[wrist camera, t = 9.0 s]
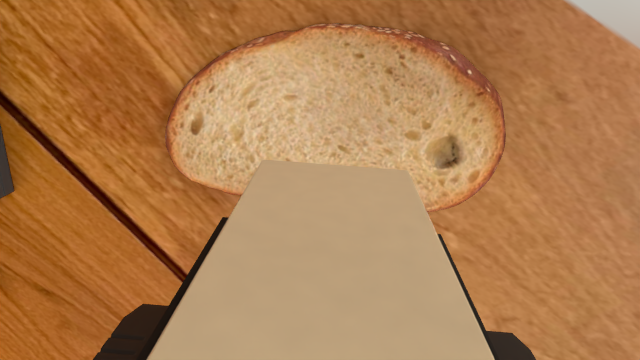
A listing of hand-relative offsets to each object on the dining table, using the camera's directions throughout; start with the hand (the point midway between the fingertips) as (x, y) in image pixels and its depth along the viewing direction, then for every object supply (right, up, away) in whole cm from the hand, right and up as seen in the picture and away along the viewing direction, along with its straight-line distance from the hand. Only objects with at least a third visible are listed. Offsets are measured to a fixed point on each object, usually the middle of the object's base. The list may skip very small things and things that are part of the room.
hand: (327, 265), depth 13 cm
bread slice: (+1, +6, +15) cm, 16 cm away
